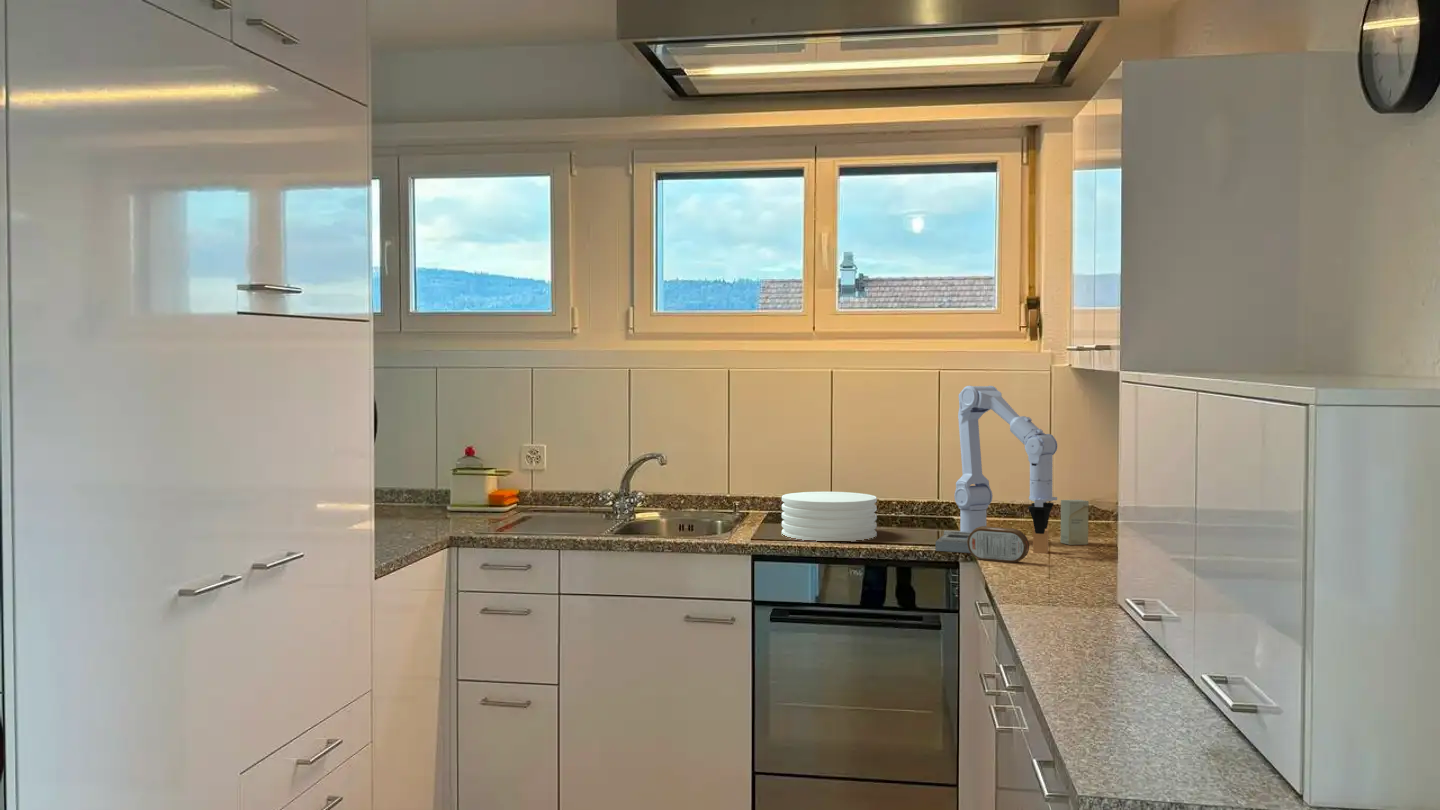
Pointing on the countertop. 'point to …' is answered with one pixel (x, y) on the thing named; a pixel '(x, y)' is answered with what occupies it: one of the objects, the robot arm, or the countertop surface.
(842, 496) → the plate stack
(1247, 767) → the countertop surface
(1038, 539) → the tan cardboard-like brick
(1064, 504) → the skincare box
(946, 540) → the nested square metal frame
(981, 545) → the tin
